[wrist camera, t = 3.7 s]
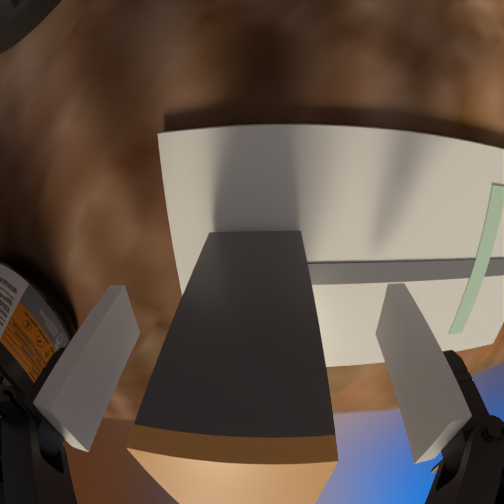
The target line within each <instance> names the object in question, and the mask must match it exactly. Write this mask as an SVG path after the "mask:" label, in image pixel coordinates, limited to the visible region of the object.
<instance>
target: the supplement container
mask: <svg viewBox="0 0 504 504" xmlns="http://www.w3.org/2000/svg"><path fill="white" fill-rule="evenodd" d="M75 334H76V329H75V326H74V323H73V320H72V318H71V316H70V314H69V312H68V310H67V308H66V306H65V304H64V303H63V301H62V300H61V298H60V297H59V295H58V294H57V292H56V291H55V290H54V289H53V287H52V286H51V285H50V284H49V283H48V282H47V281H46V280H45V279H44V278H43V277H42V276H41V275H40V274H39V273H38V272H37V271H36V270H34V269H33V268H32V267H30V266H29V265H28V264H26V263H24V262H23V261H21V260H19V259H17V258H14V257H11V256H6V255H0V389H1V388H3V387H9V388H12V389H13V390H14V391H15V392H16V394H17V395H18V396H19V397H20V399H21V400H22V401H24V400H25V398H26V396H27V395H28V393H29V391H30V390H31V388H32V386H33V385H34V383H35V381H36V380H37V378H38V376H39V375H40V374H41V372H42V370H43V368H44V367H46V364H47V362H48V361H49V359H50V358H51V356H52V355H53V354H54V353H55V352H56V351H57V350H59V349H60V348H61V347H65V348H67V346H68V344H69V343H70V341H71V340H72V338H73V337H74V335H75Z"/></svg>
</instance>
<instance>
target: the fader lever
mask: <svg viewBox="0 0 504 504" xmlns="http://www.w3.org/2000/svg"><path fill="white" fill-rule="evenodd" d="M126 448H127V449H128V450H129V451H130V452H131V454H132V455H133V456H134V457H135V458H136V459H137V461H139V463H140V464H141V465H142V466H143V467H144V468H145V469H146V471H147V472H148V473H149V474H150V475H151V476H152V477H153V478H154V479H155V480H156V481H157V482H158V483H159V484H160V485H161V486H162V487H163V488H164V489H165V490H166V491H167V492H168V493H169V494H170V495H171V496H172V497H173V498H174V499H175V500H176V501H177V502H178V503H180V504H314V503H315V502H316V500H317V498H318V497H319V495H320V493H321V492H322V490H323V488H324V486H325V485H326V483H327V481H328V479H329V478H330V476H331V474H332V472H333V470H334V468H335V466H336V465H337V463H338V454H337V445H336V436H335V428H334V420H333V412H332V405H331V397H330V390H329V383H328V377H327V370H326V363H325V357H324V351H323V345H322V339H321V333H320V327H319V321H318V315H317V310H316V304H315V299H314V294H313V288H312V283H311V278H310V273H309V268H308V263H307V258H306V253H305V248H304V243H303V239H302V234H301V231H247V232H209V234H208V237H207V239H206V241H205V244H204V246H203V248H202V251H201V253H200V255H199V258H198V260H197V262H196V265H195V267H194V269H193V272H192V274H191V276H190V279H189V281H188V284H187V286H186V289H185V291H184V293H183V296H182V298H181V301H180V303H179V306H178V308H177V311H176V313H175V316H174V318H173V321H172V323H171V326H170V328H169V331H168V333H167V336H166V338H165V341H164V344H163V346H162V349H161V351H160V354H159V357H158V359H157V362H156V365H155V367H154V370H153V373H152V375H151V378H150V381H149V384H148V386H147V389H146V392H145V395H144V397H143V400H142V403H141V406H140V409H139V412H138V414H137V417H136V420H135V423H134V426H133V429H132V432H131V435H130V438H129V441H128V444H127V447H126Z"/></svg>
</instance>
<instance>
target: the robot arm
mask: <svg viewBox="0 0 504 504" xmlns="http://www.w3.org/2000/svg"><path fill="white" fill-rule="evenodd" d="M60 1H61V0H0V53H2V52H4V51H6V50H7V49H9V48H10V47H12V46H13V45H15V44H16V43H17V42H19V41H20V40H21V39H22V38H24V37H25V36H26V35H27V34H28V33H29V32H31V31H32V30H33V29H34V28H35V27H36V26H37V25H38V24H39V23H40V22H41V21H42V20H43V19H44V18H45V17H46V16H47V15H48V14H49V13H50V12H51V11H52V10H53V8H54V7H55V6H56V5H57V4H58V3H59V2H60ZM375 334H376V337H377V340H378V343H379V346H380V349H381V352H382V354H383V357H384V360H385V363H386V366H387V369H388V372H389V376H390V379H391V382H392V385H393V388H394V391H395V395H396V398H397V401H398V405H399V408H400V411H401V415H402V419H403V422H404V426H405V429H406V433H407V437H408V441H409V445H410V449H411V452H412V457H413V461H414V464H416V463H420V462H423V461H427V460H431V459H434V458H435V457H436V456H437V455H438V454H439V453H440V452H442V456H443V459H442V460H441V461H440V462H439V463H438V464H437V465H436V466H435V467H434V468H433V469H432V471H431V472H430V473H431V474H433V473H434V472H435V471H436V470H437V469H438V470H437V473H436V476H435V479H434V481H433V484H432V487H431V489H430V492H429V494H428V497H427V499H426V502H425V504H504V422H503V421H502V420H501V419H500V418H498V417H496V416H493V415H489V413H488V411H487V409H486V407H485V405H484V402H483V400H482V398H481V396H480V394H479V392H478V390H477V388H476V386H475V383H474V382H473V381H472V377H471V375H470V373H469V372H468V371H467V370H468V369H467V368H466V366H465V364H464V362H463V360H462V358H461V357H460V356H458V355H457V354H456V353H455V352H454V351H453V350H448V351H442V350H441V348H440V346H439V344H438V342H437V340H436V338H435V336H434V334H433V333H432V331H431V329H430V327H429V325H428V323H427V322H426V320H425V318H424V316H423V314H422V313H421V311H420V309H419V307H418V306H417V304H416V302H415V300H414V299H413V297H412V295H411V294H410V292H409V290H408V289H407V287H406V285H405V284H404V283H393V284H388V285H387V289H386V294H385V298H384V302H383V306H382V310H381V314H380V318H379V322H378V326H377V330H376V333H375ZM139 335H140V331H139V328H138V325H137V322H136V319H135V316H134V313H133V310H132V307H131V304H130V301H129V297H128V294H127V291H126V288H125V285H110V286H109V287H108V288H107V290H106V291H105V292H104V294H103V295H102V296H101V298H100V299H99V301H98V302H97V303H96V305H95V306H94V308H93V309H92V310H91V312H90V313H89V315H88V316H87V318H86V319H85V321H84V322H83V323H82V325H81V326H80V328H79V329H78V331H77V332H76V334H75V335H74V337H73V338H72V340H71V341H70V343H69V344H68V346H67V348H65V347H61V348H60V349H59V350H57V351H56V352H55V353H54V354H53V355H52V356H51V358H50V359H49V361H48V362H47V364H46V367H44V368H43V370H42V372H41V374H40V375H39V376H38V378H37V380H36V381H35V383H34V385H33V386H32V388H31V390H30V391H29V393H28V395H27V396H26V398H25V400H24V401H22V400H21V399H20V397H19V396H18V395H17V394H16V392H15V391H14V390H13V389H12V388H9V387H3V388H1V389H0V504H77V500H76V496H75V492H74V489H73V484H72V480H71V475H70V470H69V465H68V461H67V455H66V450H65V448H64V446H63V445H62V443H63V441H64V439H65V440H66V441H67V442H68V443H69V444H70V445H71V446H73V447H75V448H78V449H81V450H84V451H87V452H89V450H90V447H91V445H92V442H93V440H94V437H95V434H96V432H97V430H98V427H99V425H100V422H101V420H102V417H103V415H104V413H105V410H106V408H107V406H108V403H109V401H110V399H111V396H112V394H113V392H114V389H115V387H116V385H117V383H118V380H119V378H120V376H121V374H122V371H123V369H124V367H125V365H126V363H127V360H128V358H129V356H130V354H131V352H132V350H133V348H134V345H135V343H136V341H137V339H138V337H139Z"/></svg>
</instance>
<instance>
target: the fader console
mask: <svg viewBox="0 0 504 504" xmlns="http://www.w3.org/2000/svg"><path fill="white" fill-rule="evenodd" d="M158 143H159V152H160V161H161V169H162V177H163V184H164V192H165V199H166V205H167V212H168V219H169V225H170V231H171V237H172V243H173V249H174V254H175V260H176V265H177V271H178V276H179V281H180V286H181V291H182V296H183V293H184V291H185V289H186V286H187V284H188V281H189V279H190V276H191V274H192V272H193V269H194V267H195V265H196V262H197V260H198V258H199V255H200V253H201V251H202V248H203V246H204V244H205V241H206V239H207V237H208V234H209V232H247V231H301V234H302V239H303V243H304V248H305V253H306V258H307V263H308V268H309V273H310V278H311V283H312V288H313V294H314V299H315V304H316V310H317V315H318V321H319V327H320V333H321V339H322V345H323V351H324V357H325V363H326V367H332V366H347V365H360V364H371V363H381V362H385V360H384V357H383V354H382V352H381V349H380V346H379V343H378V340H377V337H376V334H375V333H376V330H377V326H378V322H379V318H380V314H381V310H382V306H383V302H384V298H385V294H386V289H387V285H388V284H393V283H404V284H405V285H406V287H407V289H408V290H409V292H410V294H411V295H412V297H413V299H414V300H415V302H416V304H417V306H418V307H419V309H420V311H421V313H422V314H423V316H424V318H425V320H426V322H427V323H428V325H429V327H430V329H431V331H432V333H433V334H434V336H435V338H436V340H437V342H438V344H439V346H440V348H441V350H442V351H448V350H453V351H454V352H456V351H461V350H466V349H471V348H476V347H480V346H485V345H489V344H493V342H494V340H495V339H496V337H497V335H498V333H499V331H500V329H501V327H502V325H503V322H504V148H500V147H496V146H492V145H488V144H483V143H479V142H474V141H469V140H464V139H459V138H453V137H448V136H442V135H435V134H429V133H422V132H414V131H407V130H398V129H389V128H378V127H366V126H352V125H333V124H249V125H230V126H215V127H203V128H192V129H182V130H173V131H165V132H162V133H159V134H158Z"/></svg>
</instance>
